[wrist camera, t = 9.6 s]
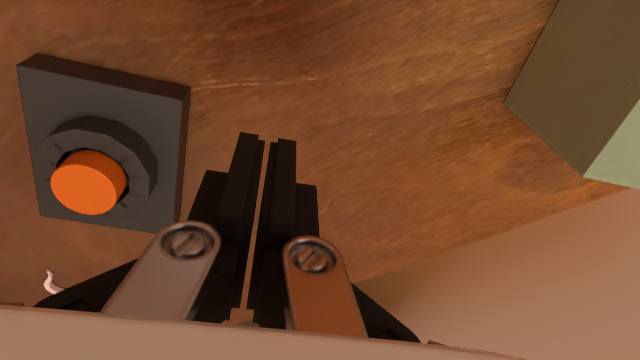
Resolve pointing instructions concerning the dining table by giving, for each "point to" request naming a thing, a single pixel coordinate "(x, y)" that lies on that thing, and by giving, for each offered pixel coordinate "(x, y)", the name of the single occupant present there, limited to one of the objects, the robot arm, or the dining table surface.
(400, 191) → the dining table surface
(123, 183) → the button
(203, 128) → the dining table surface
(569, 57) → the cabinet
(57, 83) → the control box
